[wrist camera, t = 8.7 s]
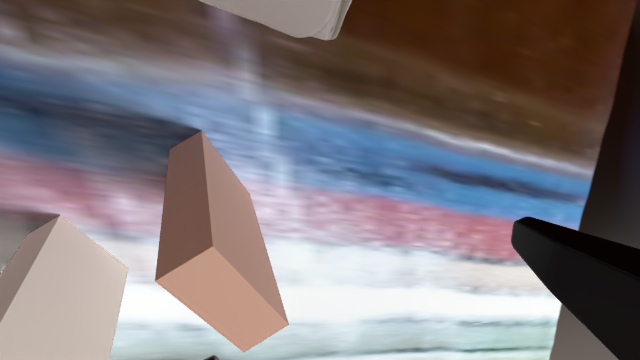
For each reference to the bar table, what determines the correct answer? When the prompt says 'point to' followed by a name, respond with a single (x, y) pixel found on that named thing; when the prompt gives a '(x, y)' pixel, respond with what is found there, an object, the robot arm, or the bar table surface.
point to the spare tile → (216, 247)
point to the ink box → (291, 15)
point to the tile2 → (60, 296)
